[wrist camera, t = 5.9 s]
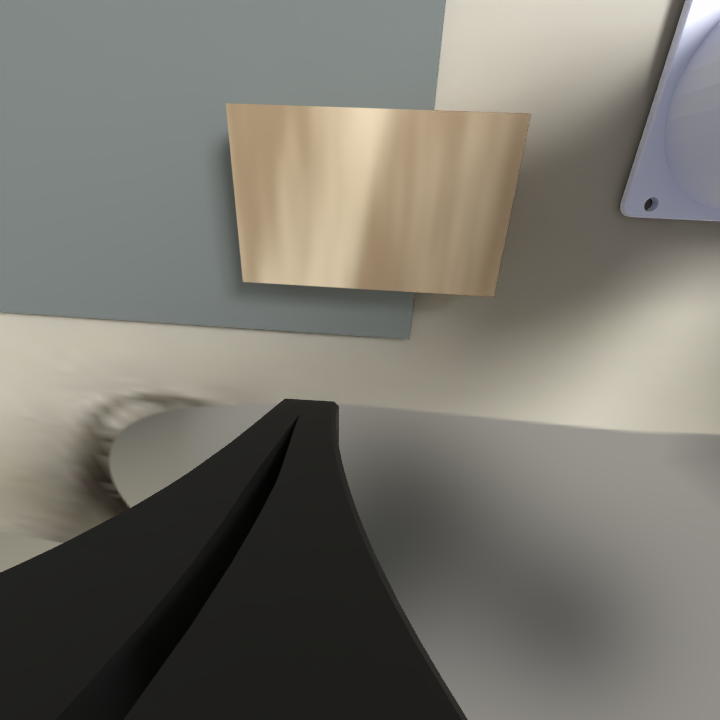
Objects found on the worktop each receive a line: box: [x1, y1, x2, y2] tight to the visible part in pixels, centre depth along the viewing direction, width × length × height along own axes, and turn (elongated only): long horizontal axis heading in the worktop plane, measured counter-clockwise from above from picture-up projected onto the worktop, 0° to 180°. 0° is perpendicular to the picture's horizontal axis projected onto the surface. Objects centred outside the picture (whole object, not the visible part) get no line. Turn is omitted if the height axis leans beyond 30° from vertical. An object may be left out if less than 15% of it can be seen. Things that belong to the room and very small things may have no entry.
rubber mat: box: [0, 0, 446, 339], centre depth 15 cm, size 22×16×1 cm
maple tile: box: [226, 103, 531, 297], centre depth 14 cm, size 2×6×10 cm
